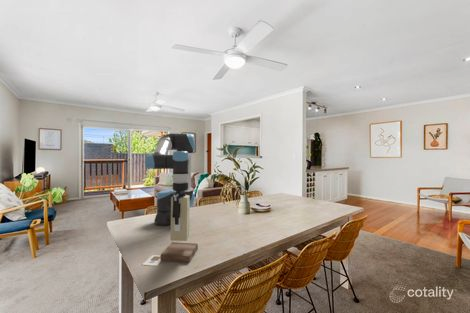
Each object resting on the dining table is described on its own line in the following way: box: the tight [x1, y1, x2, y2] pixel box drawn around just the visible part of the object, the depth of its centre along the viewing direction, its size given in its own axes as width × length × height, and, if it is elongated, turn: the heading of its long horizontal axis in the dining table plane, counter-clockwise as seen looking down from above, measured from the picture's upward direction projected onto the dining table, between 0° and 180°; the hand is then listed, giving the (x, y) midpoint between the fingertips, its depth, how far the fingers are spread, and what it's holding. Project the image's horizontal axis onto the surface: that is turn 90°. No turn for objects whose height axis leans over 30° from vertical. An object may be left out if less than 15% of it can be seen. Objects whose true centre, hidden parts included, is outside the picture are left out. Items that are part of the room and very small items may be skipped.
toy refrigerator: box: [170, 195, 191, 242], centre depth 106 cm, size 8×7×21 cm
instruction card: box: [141, 254, 162, 267], centre depth 100 cm, size 9×7×1 cm
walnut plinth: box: [159, 241, 199, 264], centre depth 106 cm, size 14×14×3 cm
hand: (180, 227), depth 106 cm, fingers closed on toy refrigerator, 7 cm apart
